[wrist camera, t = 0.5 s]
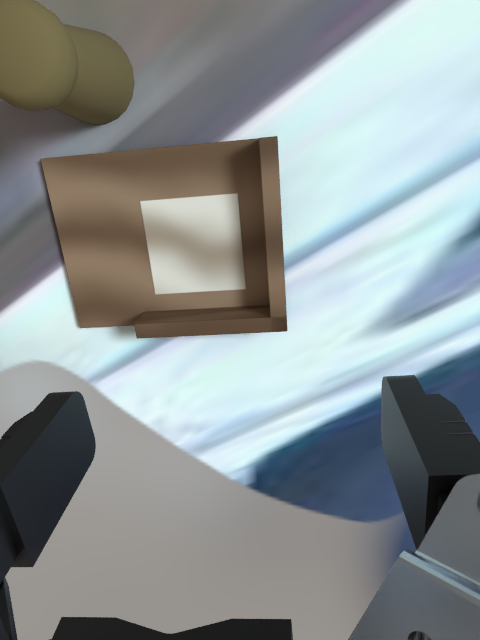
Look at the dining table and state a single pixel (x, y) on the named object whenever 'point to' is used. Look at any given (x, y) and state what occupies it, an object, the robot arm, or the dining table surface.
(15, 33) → the olive double-lobed piece
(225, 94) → the dining table surface
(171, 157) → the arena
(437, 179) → the dining table surface
